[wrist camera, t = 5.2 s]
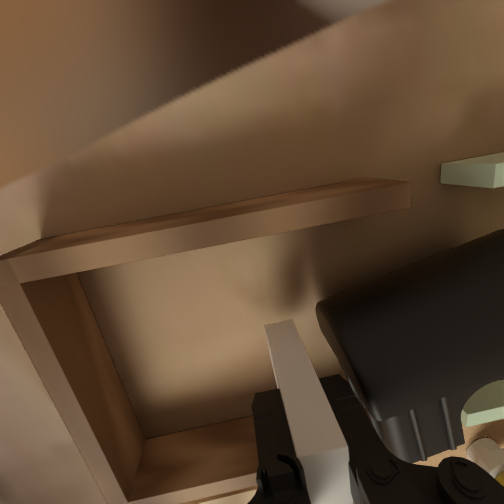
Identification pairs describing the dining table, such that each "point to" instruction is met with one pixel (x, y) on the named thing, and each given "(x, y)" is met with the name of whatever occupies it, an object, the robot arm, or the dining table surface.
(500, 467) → the light bulb
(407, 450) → the end cap
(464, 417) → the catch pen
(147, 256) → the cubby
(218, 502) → the beech crook
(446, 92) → the dining table surface
